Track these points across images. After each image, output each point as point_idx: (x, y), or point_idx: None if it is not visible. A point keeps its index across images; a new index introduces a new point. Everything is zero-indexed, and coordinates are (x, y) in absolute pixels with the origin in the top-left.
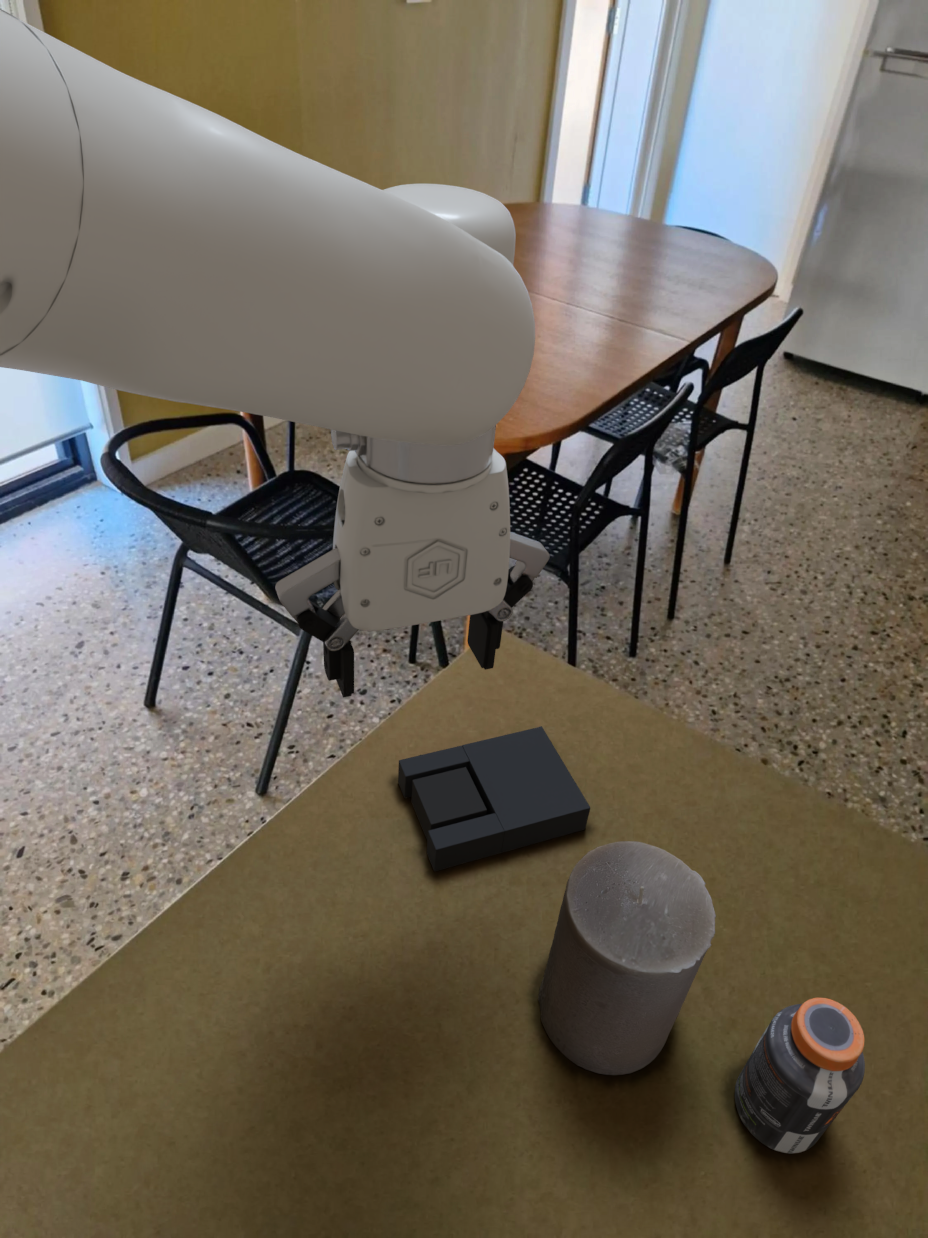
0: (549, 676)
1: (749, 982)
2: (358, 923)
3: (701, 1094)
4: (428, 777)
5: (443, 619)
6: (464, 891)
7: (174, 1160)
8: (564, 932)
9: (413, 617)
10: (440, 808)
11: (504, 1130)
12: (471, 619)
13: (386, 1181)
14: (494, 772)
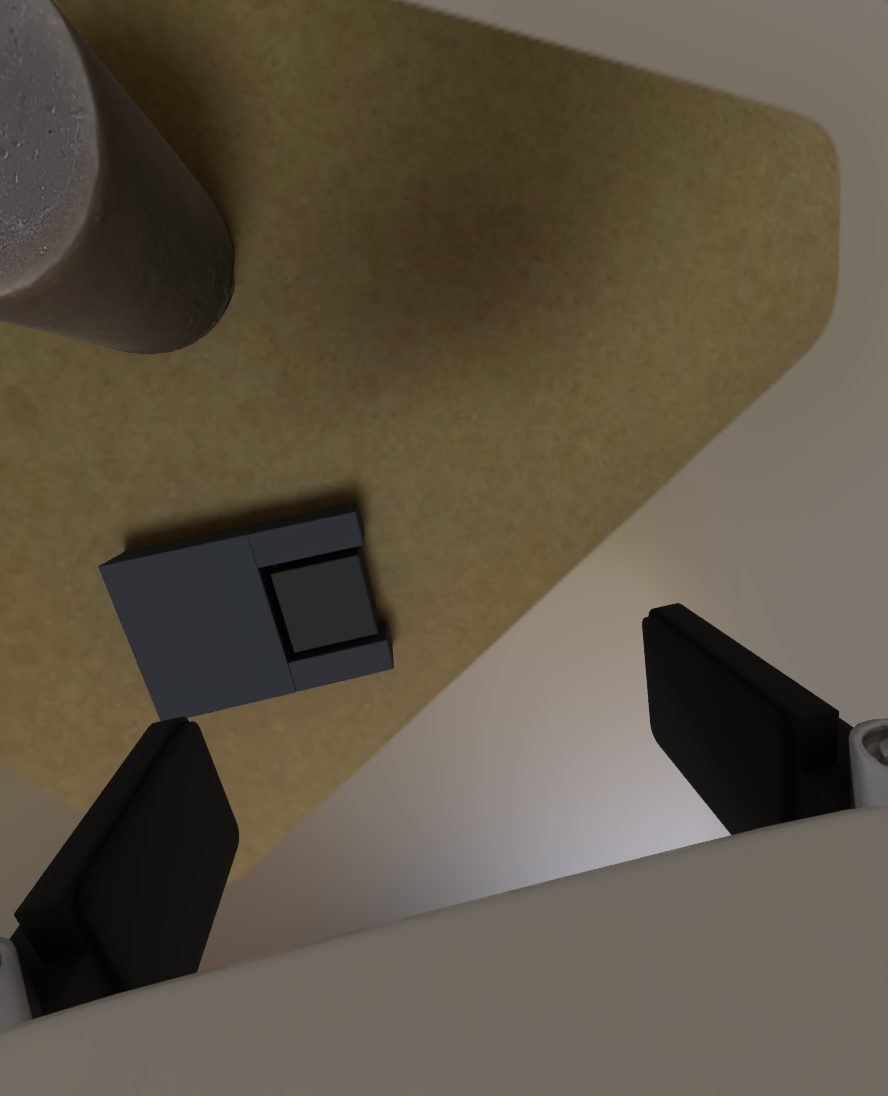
0: None
1: None
2: (463, 436)
3: None
4: (353, 636)
5: (351, 939)
6: (318, 468)
7: (688, 162)
8: (133, 148)
9: (643, 948)
10: (341, 581)
11: (305, 108)
12: (198, 936)
13: (460, 77)
14: (250, 640)
